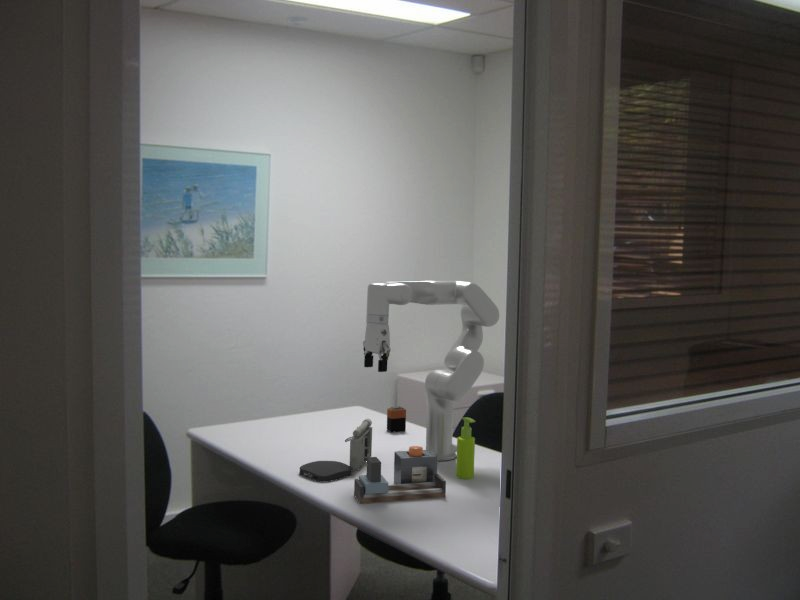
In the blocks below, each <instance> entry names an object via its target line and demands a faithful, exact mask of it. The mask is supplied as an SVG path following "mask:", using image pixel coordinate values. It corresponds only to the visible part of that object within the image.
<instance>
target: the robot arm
mask: <svg viewBox="0 0 800 600" xmlns="http://www.w3.org/2000/svg"><path fill="white" fill-rule="evenodd" d="M366 294H367V298H366V299H367V300H366V319H365V320H366V321H365V323H366V326H365V335H364V340H363V341H362V346H363V355H364V359H363V362H364V363H363V367H364V368H373V367H374V354H377V355H378V358H379V359H378V360H377V362H378V363H377V364H378V365H377V372H378V373H381V372H382V373H386V372H387V371H388V361H389V357H390V352H391V341H390V340H391V338H390V337H391V334H390V325H389V318H390V317H389V315H390V305H395V306H396V305H397V306H406V305H407V304H409V303H412V304H413V303H414V304H420V305H425V306H428V305H429V306H436V305H438V306H439V305H462V307H461V309H460V318H461V324H462V328H461V332H460V334H459V336H458V337H457V339H456V340H455V342H454V343H453V345H452V346H451V348H450V349H449V351H448V352H446V353H447V354H445V356H444V366H445V368H446V369H447V370H444V369H434V370H431V371H430V372H429V373H428V374H427V375H426V378H425V381H424V389H425V395H426V431H425V432H426V433H425V434H426V436H425V438H426V439H425V450H431V451H432V452H433V453H434V454H435V455H436V456H437V462H439V461H440V462H443V461H452V460H455V459H456V458H457V444H454V443H453V431H454V429H453V426H454V425H453V424H454V404H453V402H458V401H461V400H463V398H464V397H466V395H468V393H469V392H470V390H471V389H472V387H473V386H474V384H475V383H476V382H477V380H478V378H479V377H480V376H481V374H482V372H483V370H484V367H485V360H484V357H483V355H482V354H481V352H479V351H478V350H479V349H480V347H481V345H482V344H483V341H484V331H483V327H486V328H488V327H489V328H490V327H493V326H495V325H496V324H497V323H498V322H499V320H500V310H499V308H498V306H497V305H496V304H495V302H494V301H493V300H492V299H491V298H490V297H489V295H488V294H487V293H486V292H485V291H484V289H483V288H481V287H480V285H478V284H477V283H476V282H472V281H463V280H419V281H418V280H417V281H403V280H402V281H385V282H372V283H369V284H368V286H367V293H366Z"/></svg>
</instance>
